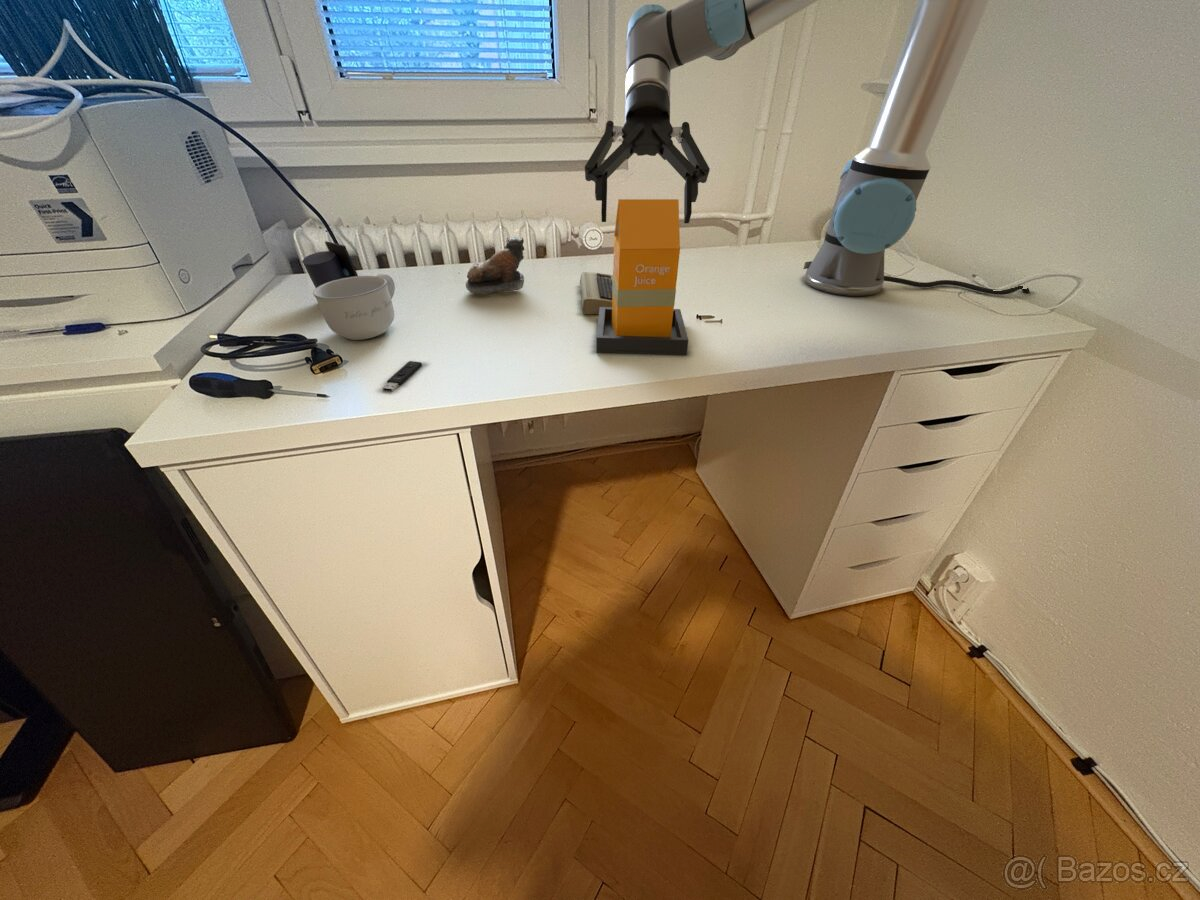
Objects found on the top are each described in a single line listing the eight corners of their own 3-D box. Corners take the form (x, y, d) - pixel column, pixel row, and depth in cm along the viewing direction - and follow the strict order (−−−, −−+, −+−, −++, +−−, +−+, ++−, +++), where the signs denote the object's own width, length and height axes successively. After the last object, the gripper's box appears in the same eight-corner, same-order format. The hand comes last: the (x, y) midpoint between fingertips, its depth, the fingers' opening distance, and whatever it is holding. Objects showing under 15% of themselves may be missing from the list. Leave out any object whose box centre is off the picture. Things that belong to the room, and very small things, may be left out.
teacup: (356, 352, 74) (340, 301, 69) (314, 336, 78) (296, 286, 73) (427, 323, 83) (417, 276, 78) (385, 310, 88) (374, 265, 83)
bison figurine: (467, 300, 93) (458, 244, 86) (466, 288, 98) (458, 235, 92) (529, 295, 95) (525, 242, 89) (525, 284, 100) (521, 232, 94)
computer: (626, 314, 87) (627, 296, 85) (582, 315, 87) (581, 297, 85) (618, 286, 100) (619, 270, 98) (579, 286, 100) (579, 270, 98)
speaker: (359, 291, 95) (338, 236, 88) (369, 300, 92) (347, 245, 84) (319, 302, 92) (294, 247, 85) (327, 313, 88) (302, 256, 81)
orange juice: (611, 324, 82) (614, 194, 70) (661, 323, 83) (674, 194, 71) (615, 344, 76) (620, 204, 64) (670, 343, 77) (685, 204, 65)
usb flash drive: (395, 393, 65) (393, 387, 64) (381, 392, 65) (379, 385, 64) (422, 367, 71) (421, 361, 70) (410, 366, 71) (409, 360, 71)
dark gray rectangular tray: (678, 322, 85) (680, 308, 83) (686, 355, 74) (688, 340, 73) (599, 320, 85) (599, 306, 84) (596, 352, 75) (596, 337, 73)
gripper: (717, 120, 84) (717, 232, 81) (575, 119, 85) (570, 230, 82) (727, 82, 77) (728, 203, 74) (572, 80, 77) (566, 201, 74)
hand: (645, 217), depth 78 cm, fingers open, 13 cm apart
